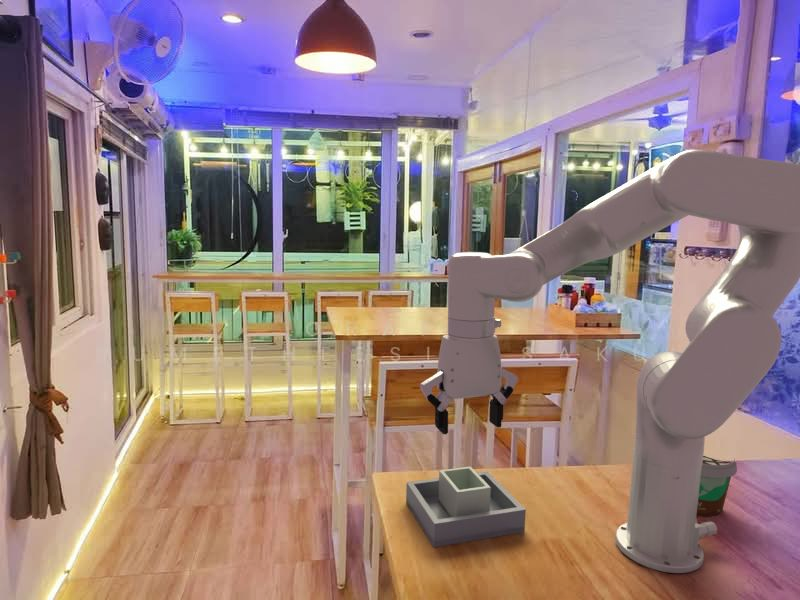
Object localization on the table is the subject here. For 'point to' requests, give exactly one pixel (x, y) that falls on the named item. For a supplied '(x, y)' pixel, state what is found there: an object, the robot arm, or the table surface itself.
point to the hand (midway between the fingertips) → (469, 428)
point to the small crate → (463, 492)
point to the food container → (714, 486)
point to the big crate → (447, 531)
